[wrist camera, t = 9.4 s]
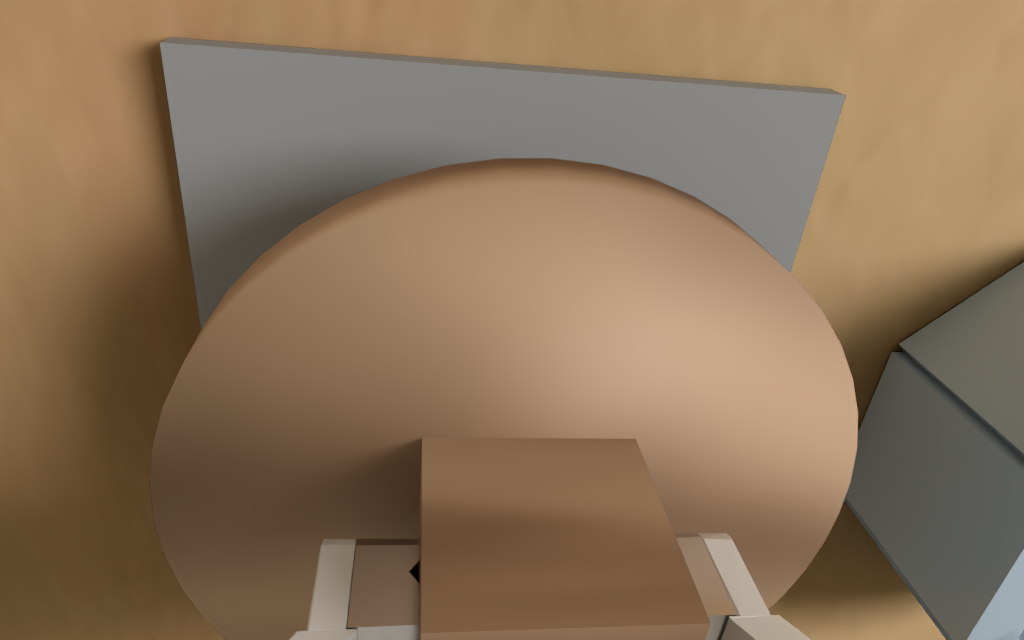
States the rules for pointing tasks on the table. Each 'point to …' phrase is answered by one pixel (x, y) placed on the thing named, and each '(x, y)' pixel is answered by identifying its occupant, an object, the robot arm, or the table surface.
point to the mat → (464, 138)
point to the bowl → (953, 465)
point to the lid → (506, 408)
